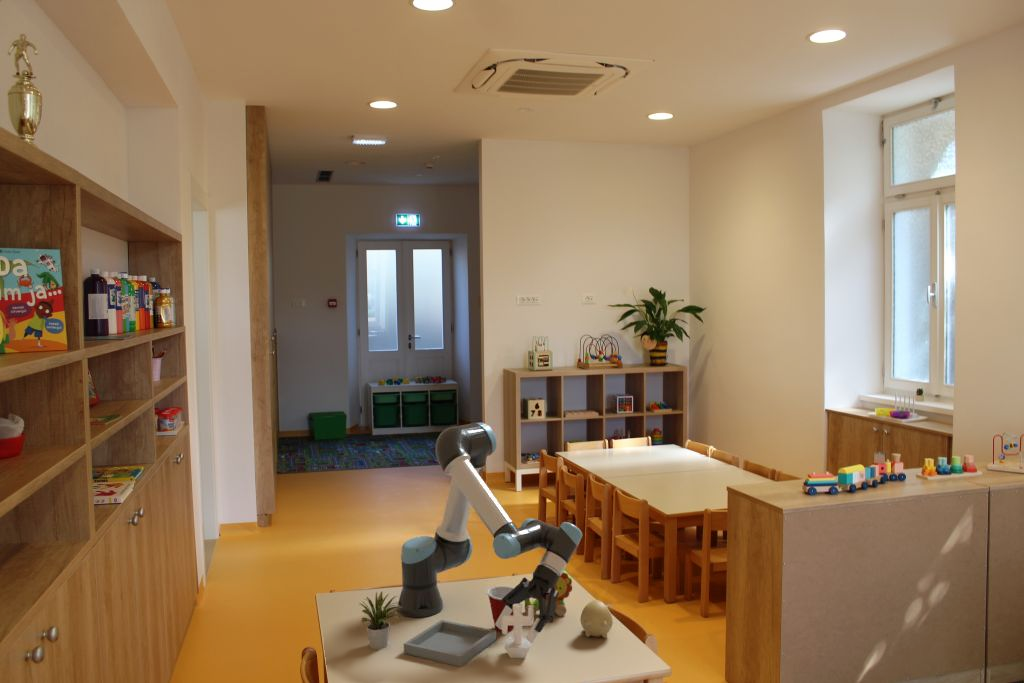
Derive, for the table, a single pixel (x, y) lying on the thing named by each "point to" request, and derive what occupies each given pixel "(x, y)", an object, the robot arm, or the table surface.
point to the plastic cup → (498, 603)
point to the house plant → (378, 622)
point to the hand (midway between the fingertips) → (513, 634)
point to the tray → (450, 642)
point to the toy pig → (596, 619)
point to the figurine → (517, 631)
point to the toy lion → (564, 589)
